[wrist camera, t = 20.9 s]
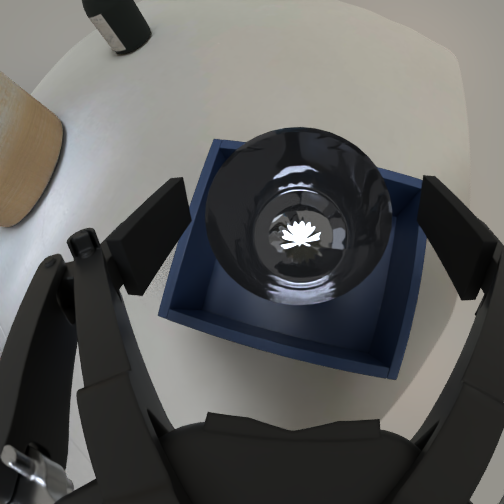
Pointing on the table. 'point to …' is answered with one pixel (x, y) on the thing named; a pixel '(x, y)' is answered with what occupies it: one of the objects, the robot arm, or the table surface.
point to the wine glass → (298, 216)
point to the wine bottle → (118, 23)
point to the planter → (24, 150)
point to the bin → (304, 317)
